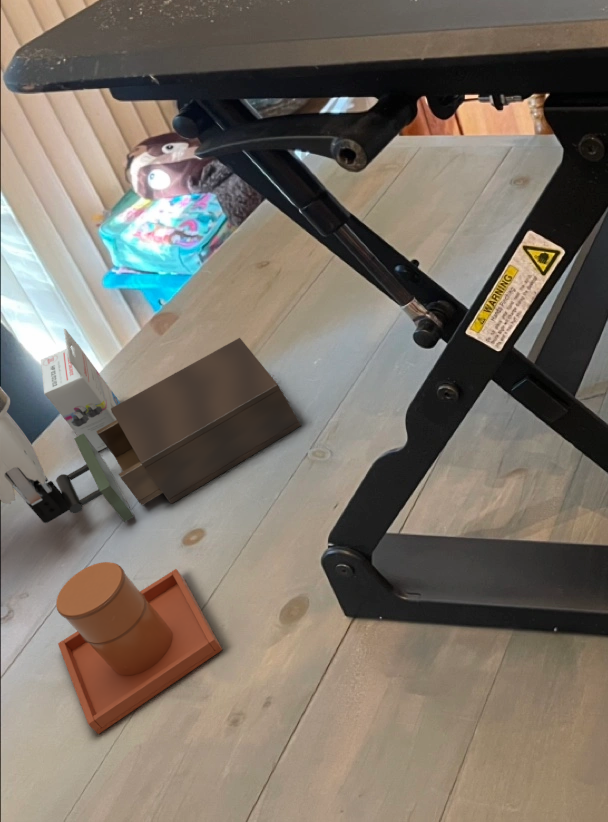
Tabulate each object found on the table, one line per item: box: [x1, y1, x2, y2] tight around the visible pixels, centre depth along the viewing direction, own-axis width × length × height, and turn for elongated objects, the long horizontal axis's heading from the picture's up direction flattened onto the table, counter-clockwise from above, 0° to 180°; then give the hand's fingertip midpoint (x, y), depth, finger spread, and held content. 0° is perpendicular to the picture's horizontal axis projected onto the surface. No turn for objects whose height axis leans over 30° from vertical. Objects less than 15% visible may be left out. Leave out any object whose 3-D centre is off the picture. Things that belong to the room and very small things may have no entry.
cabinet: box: [111, 337, 302, 504], centre depth 138 cm, size 18×14×8 cm
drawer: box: [55, 420, 163, 523], centre depth 135 cm, size 21×13×6 cm, turn 130°
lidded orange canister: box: [55, 561, 172, 676], centre depth 111 cm, size 7×7×11 cm
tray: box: [57, 568, 223, 735], centre depth 114 cm, size 13×13×2 cm
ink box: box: [40, 328, 121, 453], centre depth 141 cm, size 8×5×15 cm, turn 31°
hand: (56, 512), depth 130 cm, fingers closed
